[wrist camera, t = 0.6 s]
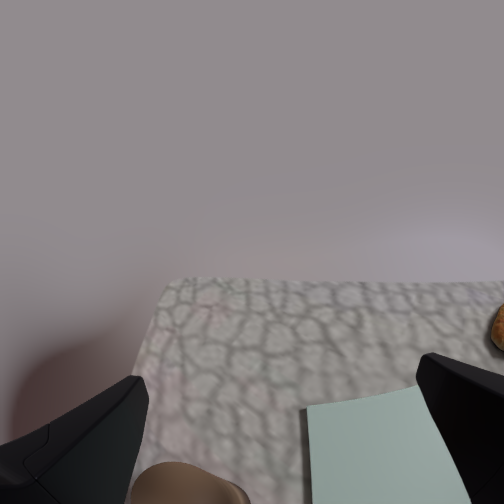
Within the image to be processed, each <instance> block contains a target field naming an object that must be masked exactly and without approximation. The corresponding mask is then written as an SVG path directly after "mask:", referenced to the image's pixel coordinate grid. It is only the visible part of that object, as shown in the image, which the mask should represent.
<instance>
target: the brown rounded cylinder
mask: <svg viewBox="0 0 504 504" xmlns="http://www.w3.org/2000/svg"><path fill="white" fill-rule="evenodd" d="M131 504H251V503H250V500H249V497H248V496H247V494H246V493H245V492H244V491H243V490H242V489H241V488H240V487H239V486H237V485H235V484H233V483H231V482H229V481H226V480H224V479H222V478H219V477H217V476H215V475H213V474H210V473H208V472H206V471H204V470H202V469H200V468H198V467H196V466H193V465H190V464H187V463H182V462H164V463H160V464H156V465H154V466H152V467H150V468H148V469H146V470H145V471H144V472H143V473H142V474H141V475H140V476H139V477H138V478H137V479H136V481H135V483H134V485H133V488H132V492H131Z"/></svg>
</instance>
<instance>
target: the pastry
mask: <svg viewBox="0 0 504 504" xmlns="http://www.w3.org/2000/svg"><path fill="white" fill-rule="evenodd" d="M491 339H492V341H493V342H494V343H495V344H496V345H497V347H498V348H500V349H501V350H503V351H504V304H503V305H502V306H501V307H500V309H499V312H498V315H497V317H496V319H495V321H494V324H493V326H492V330H491Z"/></svg>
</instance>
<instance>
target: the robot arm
mask: <svg viewBox="0 0 504 504" xmlns="http://www.w3.org/2000/svg"><path fill="white" fill-rule="evenodd" d="M416 381H417V383H418V386H419V388H420V390H421V393H422V395H423V398H424V400H425V403H426V405H427V408H428V410H429V413H430V415H431V417H432V419H433V421H434V423H435V425H436V427H437V428H438V430H439V432H440V434H441V436H442V438H443V440H444V442H445V445H446V447H447V449H448V451H449V453H450V455H451V457H452V459H453V461H454V464H455V466H456V468H457V470H458V472H459V475H460V477H461V479H462V482H463V484H464V486H465V489H466V491H467V494H468V496H469V499H470V502H471V504H504V376H503V375H500V374H496V373H493V372H490V371H487V370H484V369H481V368H478V367H475V366H472V365H469V364H466V363H463V362H460V361H457V360H454V359H451V358H448V357H445V356H442V355H439V354H436V353H428V354H424V355H423V356H422V357H421V359H420V363H419V366H418V369H417V373H416ZM148 405H149V396H148V392H147V389H146V386H145V383H144V380H143V378H142V377H141V376H133V375H130V376H127V377H126V378H124V379H123V380H121V381H119V382H118V383H116V384H114V385H113V386H111V387H110V388H108V389H106V390H105V391H103V392H101V393H100V394H98V395H96V396H95V397H93V398H91V399H90V400H88V401H86V402H85V403H83V404H81V405H79V406H78V407H76V408H74V409H73V410H71V411H69V412H67V413H66V414H64V415H62V416H61V417H59V418H57V419H55V420H53V421H51V422H50V424H46V425H44V426H43V427H41V428H39V429H37V430H35V431H33V432H31V433H29V434H27V435H25V436H22V437H20V438H18V439H15V440H13V441H10V442H8V443H5V444H3V445H1V446H0V504H124V502H125V498H126V494H127V490H128V487H129V483H130V480H131V476H132V473H133V469H134V466H135V463H136V459H137V456H138V453H139V449H140V446H141V442H142V438H143V432H144V427H145V421H146V415H147V410H148Z"/></svg>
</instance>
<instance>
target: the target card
mask: <svg viewBox="0 0 504 504" xmlns="http://www.w3.org/2000/svg"><path fill="white" fill-rule="evenodd" d="M306 411H307V423H308V437H309V452H310V468H311V489H312V504H471V502H470V499H469V496H468V494H467V491H466V489H465V486H464V484H463V482H462V479H461V477H460V475H459V472H458V470H457V468H456V466H455V464H454V461H453V459H452V457H451V455H450V453H449V451H448V449H447V447H446V445H445V442H444V440H443V438H442V436H441V434H440V432H439V430H438V428H437V427H436V425H435V423H434V421H433V419H432V417H431V415H430V413H429V410H428V408H427V405H426V403H425V400H424V398H423V395H422V393H421V390H420V388H419V386H418V385H417V386H413V387H409V388H405V389H401V390H397V391H393V392H389V393H384V394H380V395H375V396H370V397H365V398H359V399H354V400H348V401H341V402H335V403H327V404H319V405H311V406H307V407H306Z"/></svg>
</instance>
